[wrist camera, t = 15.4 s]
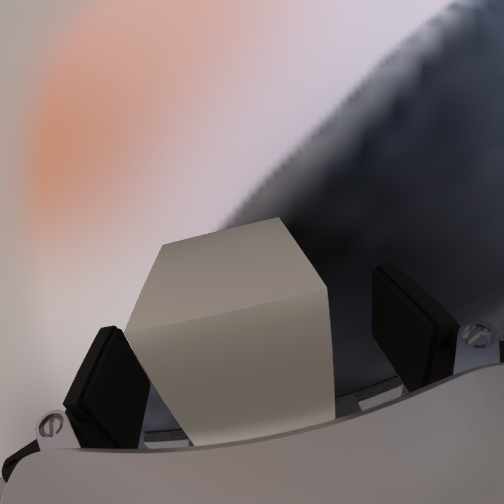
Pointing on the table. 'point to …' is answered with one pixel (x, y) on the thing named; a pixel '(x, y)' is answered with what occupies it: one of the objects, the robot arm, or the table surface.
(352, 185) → the table surface
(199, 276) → the block ended dumbbell
